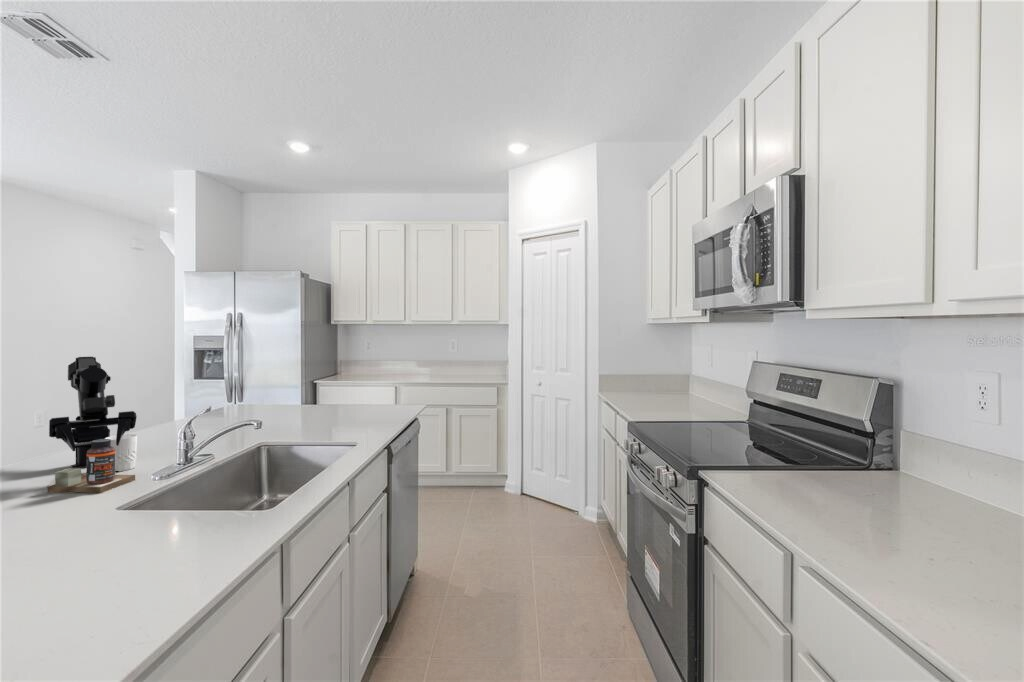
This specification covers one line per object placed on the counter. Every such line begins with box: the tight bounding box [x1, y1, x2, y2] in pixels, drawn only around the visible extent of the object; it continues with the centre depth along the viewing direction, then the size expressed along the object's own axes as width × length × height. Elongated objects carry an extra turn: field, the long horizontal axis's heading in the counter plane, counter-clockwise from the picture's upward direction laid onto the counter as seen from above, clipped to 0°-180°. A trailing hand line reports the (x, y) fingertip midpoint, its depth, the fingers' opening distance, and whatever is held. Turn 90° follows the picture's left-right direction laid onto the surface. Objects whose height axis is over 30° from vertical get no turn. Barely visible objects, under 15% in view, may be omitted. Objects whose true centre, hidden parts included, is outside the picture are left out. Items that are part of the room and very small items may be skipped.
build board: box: [46, 467, 136, 494], centre depth 130 cm, size 14×11×5 cm
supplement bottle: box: [85, 439, 116, 484], centre depth 128 cm, size 6×6×11 cm
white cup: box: [105, 433, 139, 472], centre depth 146 cm, size 8×8×10 cm
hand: (96, 447), depth 133 cm, fingers open, 9 cm apart
